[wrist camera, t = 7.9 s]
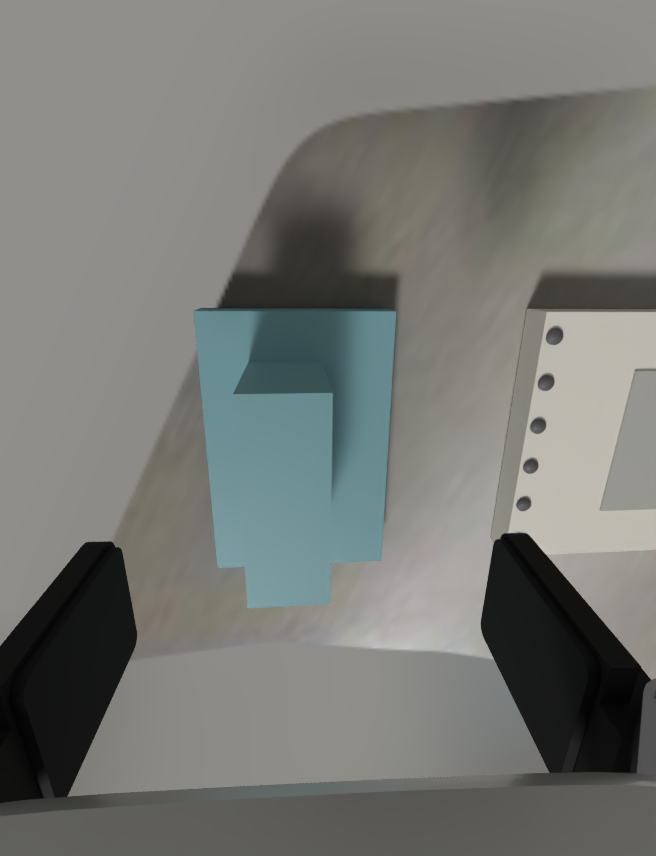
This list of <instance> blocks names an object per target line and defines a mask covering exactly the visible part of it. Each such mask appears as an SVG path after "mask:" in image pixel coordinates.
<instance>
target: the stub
mask: <svg viewBox="0 0 656 856" xmlns="http://www.w3.org/2000/svg"><path fill="white" fill-rule="evenodd" d="M194 322H195V332H196V343H197V353H198V364H199V375H200V385H201V396H202V406H203V417H204V428H205V438H206V449H207V459H208V470H209V481H210V491H211V502H212V512H213V523H214V533H215V544H216V555H217V565H218V568H224V567H245V579H246V593H247V608H261V607H280V606H300V605H319V604H330V577H331V563H338V562H360V561H381V558H382V541H383V525H384V508H385V491H386V475H387V458H388V442H389V425H390V408H391V392H392V375H393V358H394V342H395V325H396V311H394V310H391V309H335V308H200V309H197V310H195V311H194Z"/></svg>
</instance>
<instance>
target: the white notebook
mask: <svg viewBox="0 0 656 856" xmlns="http://www.w3.org/2000/svg"><path fill="white" fill-rule="evenodd" d="M504 533H527V534H528V535H530V537H531V538H532V539H533V540H534V541H535V542H536V544H537V545H538V546H539V547H540V548H541V549H542V551H543V552H544V553H545V554H546V555H548V554H570V553H593V552H615V551H638V550H656V309H527V312H526V318H525V324H524V330H523V337H522V343H521V349H520V356H519V362H518V368H517V374H516V381H515V387H514V393H513V400H512V406H511V412H510V418H509V425H508V431H507V437H506V443H505V450H504V456H503V462H502V469H501V475H500V481H499V487H498V494H497V500H496V506H495V513H494V519H493V525H492V531H491V540H492V541H493V542H495V540H496V539H500V537H501V535H502V534H504Z"/></svg>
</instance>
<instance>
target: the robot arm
mask: <svg viewBox="0 0 656 856" xmlns="http://www.w3.org/2000/svg"><path fill="white" fill-rule="evenodd" d="M481 630H482V634H483V637H484V639H485V641H486V643H487V645H488V647H489V650H490V652H491V654H492V656H493V658H494V660H495V662H496V664H497V666H498V668H499V670H500V672H501V674H502V676H503V678H504V680H505V682H506V684H507V686H508V688H509V691H510V692H511V695H512V697H513V698H514V701H515V703H516V705H517V707H518V709H519V711H520V713H521V715H522V717H523V719H524V721H525V723H526V726H527V728H528V729H529V731H530V734H531V736H532V738H533V740H534V742H535V744H536V746H537V748H538V750H539V752H540V754H541V756H542V758H543V760H544V763H545V765H546V767H547V769H548V771H549V772H550V773H532V774H531V773H529V774H528V773H527V774H499V775H476V776H452V777H428V778H404V779H382V780H363V781H362V780H361V781H340V782H320V783H302V784H301V783H299V784H281V785H260V786H240V787H222V788H203V789H186V790H168V791H149V792H131V793H113V794H98V795H85V796H72V797H67V796H68V794H69V792H70V790H71V787H72V785H73V783H74V781H75V778H76V776H77V774H78V772H79V769H80V768H81V765H82V763H83V761H84V759H85V757H86V754H87V752H88V750H89V748H90V745H91V743H92V741H93V739H94V737H95V734H96V732H97V730H98V728H99V725H100V724H101V721H102V719H103V717H104V715H105V712H106V710H107V708H108V706H109V704H110V701H111V699H112V697H113V695H114V693H115V690H116V688H117V686H118V684H119V682H120V679H121V677H122V675H123V673H124V671H125V668H126V666H127V664H128V662H129V660H130V657H131V655H132V653H133V651H134V648H135V645H136V641H137V630H136V625H135V619H134V614H133V608H132V603H131V597H130V592H129V586H128V581H127V575H126V570H125V565H124V559H123V554H122V550H121V549H120V548H119V547H115V545H114V544H113V542H87V543H85V544H84V545H83V546H82V547H81V548H80V549H79V551H78V552H77V553H76V554H75V555H74V557H73V558H72V559H71V560H70V562H69V563H68V564H67V565H66V566H65V568H64V569H63V570H62V571H61V573H60V574H59V575H58V576H57V578H56V579H55V580H54V581H53V582H52V584H51V585H50V586H49V587H48V589H47V590H46V591H45V592H44V593H43V595H42V596H41V597H40V598H39V600H38V601H37V602H36V603H35V605H34V606H33V607H32V608H31V609H30V610H29V612H28V613H27V614H26V615H25V616H24V618H23V619H22V620H21V621H20V623H19V624H18V625H17V626H16V627H15V629H14V630H13V631H12V632H11V634H10V635H9V636H8V637H7V639H6V640H5V641H4V642H3V643H2V645H1V646H0V856H656V679H653V680H651V679H650V678H649V677H648V676H647V674H646V673H645V672H644V671H643V670H642V669H641V666H640V665H639V664H638V663H637V661H636V660H635V659H634V658H633V657H632V655H631V654H630V653H629V652H628V651H627V650H626V648H625V647H624V646H623V645H622V644H621V643H620V641H619V640H618V639H617V638H616V637H615V635H614V634H613V633H612V632H611V631H610V630H609V628H608V627H607V626H606V625H605V624H604V622H603V621H602V620H601V619H600V618H599V617H598V615H597V614H596V613H595V612H594V611H593V610H592V608H591V607H590V606H589V605H588V604H587V602H586V601H585V600H584V599H583V598H582V597H581V595H580V594H579V593H578V592H577V591H576V590H575V588H574V587H573V586H572V585H571V584H570V582H569V581H568V580H567V579H566V578H565V577H564V575H563V574H562V573H561V572H560V571H559V570H558V568H557V567H556V566H555V565H554V564H553V562H552V561H551V560H550V559H549V558H548V557H547V555H546V554H545V553H544V552H543V551H542V549H541V548H540V547H539V546H538V545H537V544H536V542H535V541H534V540H533V539H532V538H531V537H530V535H528V534H527V533H504V534H502V535H501V537H500V539H496V540H495V542H494V545H493V551H492V557H491V563H490V569H489V575H488V581H487V587H486V594H485V600H484V606H483V612H482V618H481Z"/></svg>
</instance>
